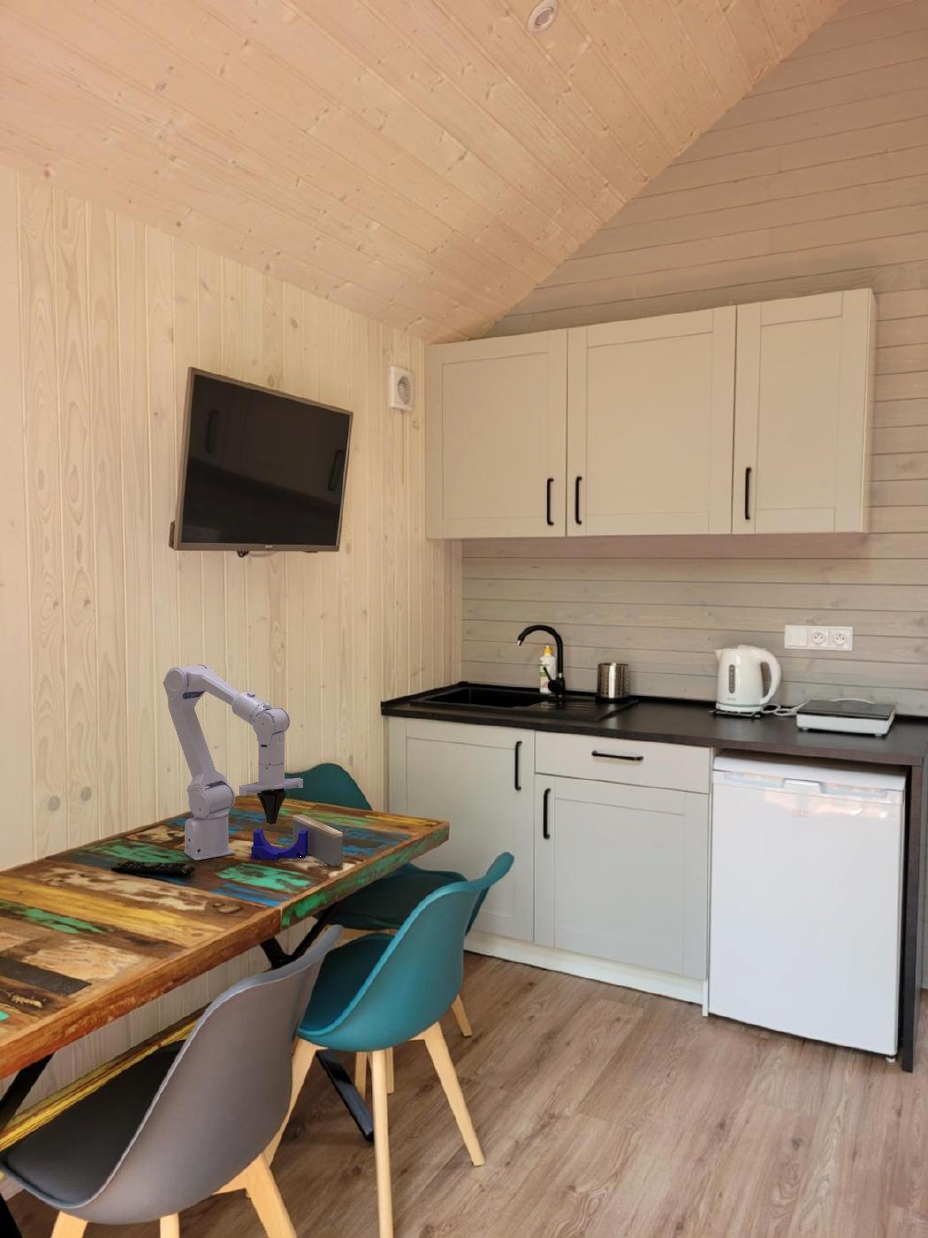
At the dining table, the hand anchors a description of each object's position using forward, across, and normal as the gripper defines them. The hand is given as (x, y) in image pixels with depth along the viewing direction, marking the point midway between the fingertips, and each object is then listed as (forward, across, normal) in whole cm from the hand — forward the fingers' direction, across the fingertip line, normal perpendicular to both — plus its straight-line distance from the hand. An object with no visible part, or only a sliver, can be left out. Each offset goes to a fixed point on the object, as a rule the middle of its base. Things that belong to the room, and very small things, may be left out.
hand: (271, 823), depth 210 cm
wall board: (+9, +11, 0) cm, 15 cm away
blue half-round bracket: (+10, +4, +3) cm, 11 cm away
